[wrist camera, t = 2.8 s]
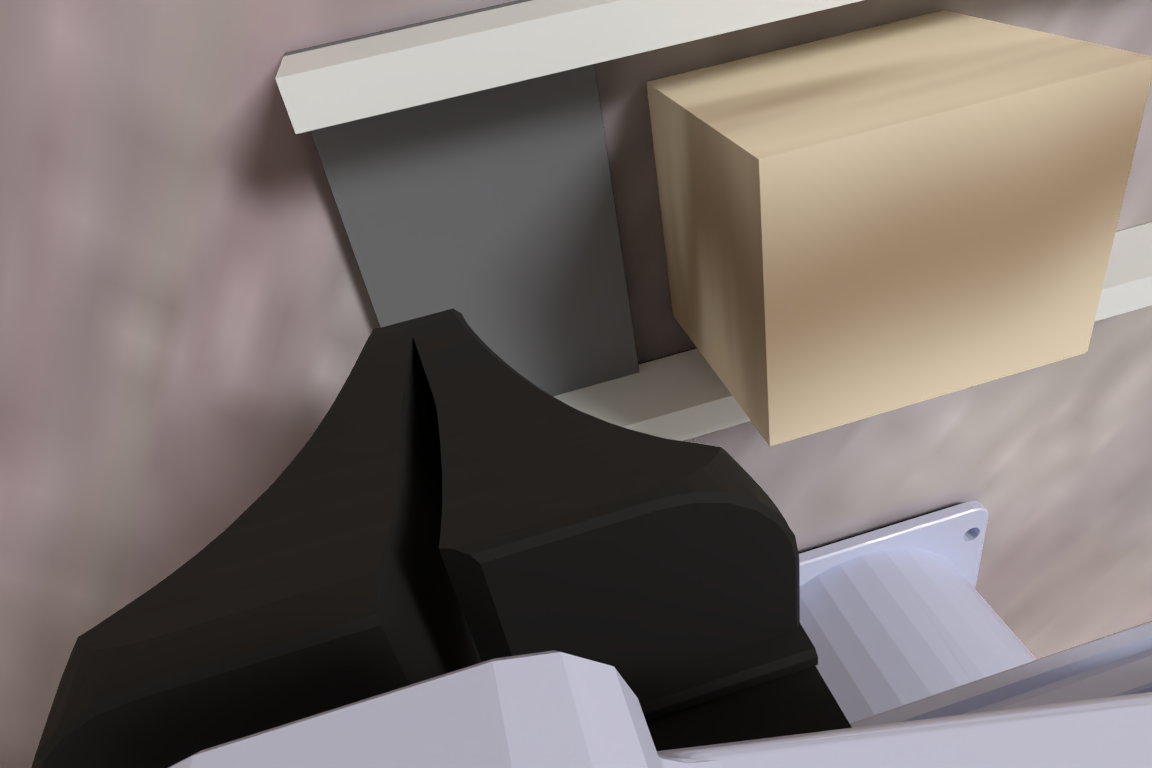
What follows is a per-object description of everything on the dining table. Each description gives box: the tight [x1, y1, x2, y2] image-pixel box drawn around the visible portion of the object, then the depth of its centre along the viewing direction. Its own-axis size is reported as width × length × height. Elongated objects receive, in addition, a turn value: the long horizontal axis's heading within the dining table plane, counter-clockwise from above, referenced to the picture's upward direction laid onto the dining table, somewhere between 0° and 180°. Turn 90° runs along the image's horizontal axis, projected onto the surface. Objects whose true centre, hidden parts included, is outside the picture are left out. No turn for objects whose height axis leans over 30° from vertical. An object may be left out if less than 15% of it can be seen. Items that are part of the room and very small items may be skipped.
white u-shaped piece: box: [275, 0, 1152, 441], centre depth 15 cm, size 9×19×2 cm, turn 100°
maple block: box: [646, 10, 1152, 446], centre depth 14 cm, size 5×6×5 cm
